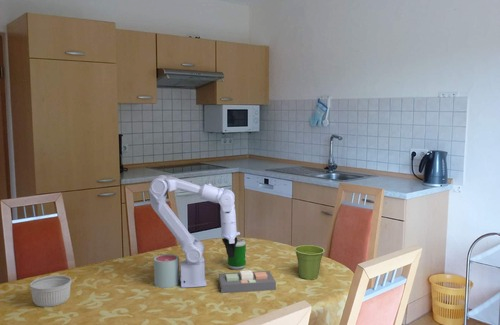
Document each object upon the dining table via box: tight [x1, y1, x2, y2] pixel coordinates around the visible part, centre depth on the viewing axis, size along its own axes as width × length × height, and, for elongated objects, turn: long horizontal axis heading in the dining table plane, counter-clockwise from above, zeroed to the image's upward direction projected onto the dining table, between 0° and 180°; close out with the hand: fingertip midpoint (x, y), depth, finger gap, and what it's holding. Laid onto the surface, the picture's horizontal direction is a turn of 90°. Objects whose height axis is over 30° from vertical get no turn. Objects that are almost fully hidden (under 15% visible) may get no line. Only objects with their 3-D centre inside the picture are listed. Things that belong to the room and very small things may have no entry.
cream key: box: [239, 269, 253, 280], centre depth 173 cm, size 4×4×4 cm
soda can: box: [227, 237, 247, 271], centre depth 192 cm, size 8×8×12 cm
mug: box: [153, 253, 180, 289], centre depth 177 cm, size 14×9×10 cm
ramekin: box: [29, 274, 72, 308], centre depth 159 cm, size 13×13×7 cm
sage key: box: [226, 274, 239, 281], centre depth 172 cm, size 4×4×4 cm
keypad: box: [218, 270, 277, 294], centre depth 173 cm, size 20×12×3 cm, turn 99°
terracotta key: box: [254, 271, 268, 280], centre depth 174 cm, size 4×4×4 cm
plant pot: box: [294, 244, 325, 280], centre depth 182 cm, size 12×12×11 cm
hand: (230, 257), depth 174 cm, fingers closed
